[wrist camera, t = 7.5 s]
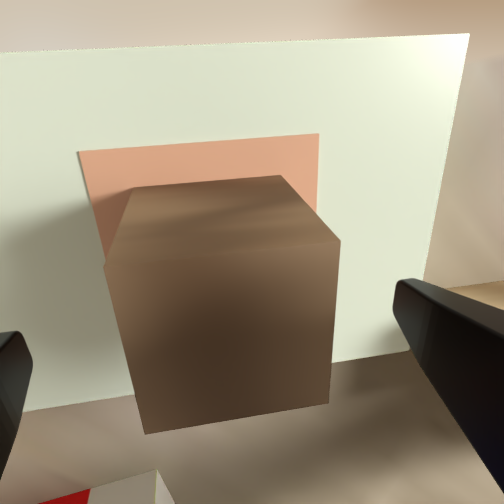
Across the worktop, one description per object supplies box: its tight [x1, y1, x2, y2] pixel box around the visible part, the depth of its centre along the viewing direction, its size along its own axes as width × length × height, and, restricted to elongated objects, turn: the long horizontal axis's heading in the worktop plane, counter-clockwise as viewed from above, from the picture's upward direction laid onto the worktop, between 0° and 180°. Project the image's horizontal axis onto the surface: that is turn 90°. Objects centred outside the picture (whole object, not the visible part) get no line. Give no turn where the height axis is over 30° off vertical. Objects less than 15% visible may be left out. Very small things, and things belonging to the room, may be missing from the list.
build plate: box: [0, 34, 470, 412], centre depth 13 cm, size 16×12×1 cm
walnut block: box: [103, 175, 341, 434], centre depth 10 cm, size 4×4×5 cm
